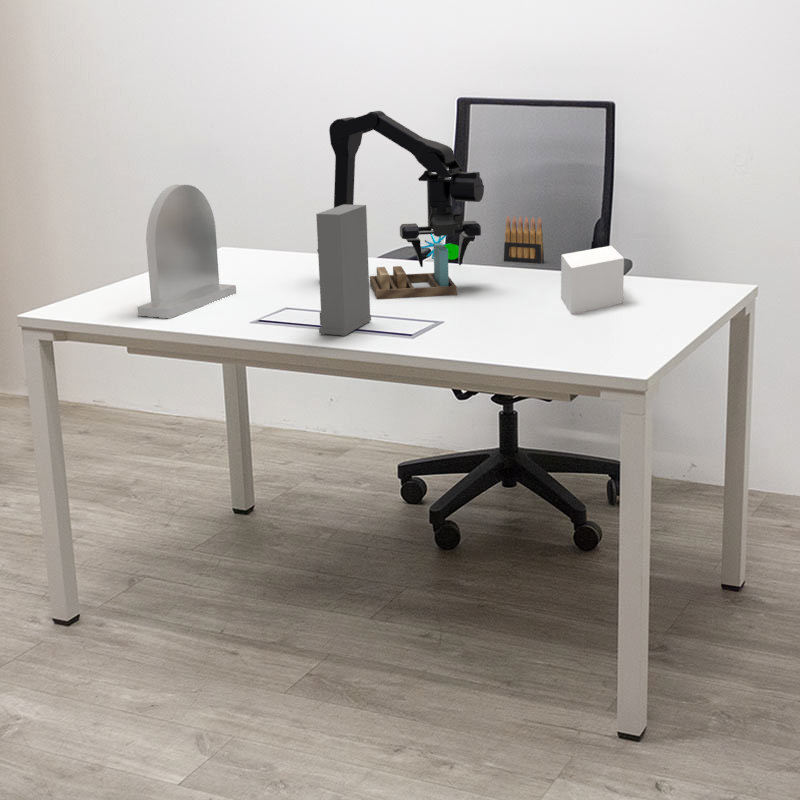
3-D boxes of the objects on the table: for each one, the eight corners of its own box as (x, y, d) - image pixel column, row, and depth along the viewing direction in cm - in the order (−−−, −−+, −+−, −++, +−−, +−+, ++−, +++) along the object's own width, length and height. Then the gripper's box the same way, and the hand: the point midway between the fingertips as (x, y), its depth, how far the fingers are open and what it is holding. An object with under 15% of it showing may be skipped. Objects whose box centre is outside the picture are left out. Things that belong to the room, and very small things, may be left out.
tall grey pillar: (345, 319, 270) (340, 204, 262) (371, 321, 268) (367, 204, 260) (318, 334, 257) (312, 213, 250) (345, 336, 255) (340, 214, 248)
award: (205, 291, 303) (196, 177, 295) (236, 293, 299) (228, 178, 291) (136, 316, 279) (124, 192, 271) (169, 319, 275) (158, 193, 267)
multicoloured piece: (415, 250, 337) (429, 225, 338) (423, 260, 343) (437, 236, 344) (451, 266, 332) (466, 241, 332) (459, 276, 338) (473, 252, 339)
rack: (377, 299, 289) (376, 290, 288) (370, 284, 306) (369, 276, 305) (456, 294, 291) (456, 286, 290) (445, 280, 308) (445, 272, 307)
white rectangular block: (539, 312, 272) (539, 266, 269) (580, 286, 297) (581, 244, 294) (603, 317, 266) (604, 270, 263) (640, 290, 291) (641, 247, 288)
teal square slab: (440, 292, 294) (439, 250, 291) (434, 284, 304) (433, 243, 301) (448, 292, 294) (448, 250, 291) (442, 283, 304) (441, 243, 301)
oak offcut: (398, 295, 293) (397, 274, 292) (393, 286, 303) (392, 266, 301) (406, 294, 293) (406, 273, 292) (401, 286, 303) (401, 266, 301)
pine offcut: (381, 296, 293) (380, 275, 291) (377, 287, 302) (376, 267, 301) (389, 295, 293) (389, 274, 291) (385, 287, 302) (384, 266, 301)
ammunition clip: (503, 261, 330) (503, 215, 326) (506, 260, 331) (506, 214, 328) (541, 263, 325) (541, 217, 322) (544, 262, 327) (544, 216, 323)
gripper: (404, 206, 284) (405, 274, 289) (484, 203, 286) (485, 270, 291) (398, 200, 295) (400, 265, 299) (476, 196, 297) (477, 261, 301)
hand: (440, 265), depth 297 cm, fingers open, 9 cm apart
